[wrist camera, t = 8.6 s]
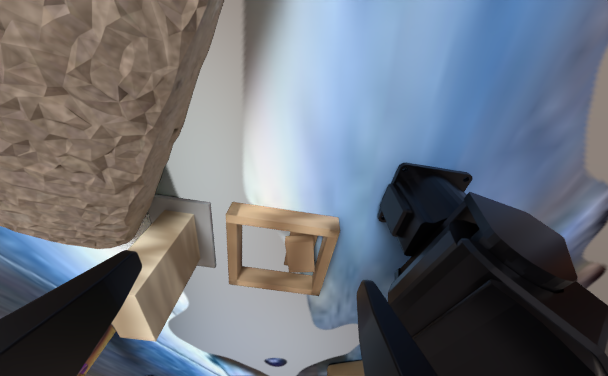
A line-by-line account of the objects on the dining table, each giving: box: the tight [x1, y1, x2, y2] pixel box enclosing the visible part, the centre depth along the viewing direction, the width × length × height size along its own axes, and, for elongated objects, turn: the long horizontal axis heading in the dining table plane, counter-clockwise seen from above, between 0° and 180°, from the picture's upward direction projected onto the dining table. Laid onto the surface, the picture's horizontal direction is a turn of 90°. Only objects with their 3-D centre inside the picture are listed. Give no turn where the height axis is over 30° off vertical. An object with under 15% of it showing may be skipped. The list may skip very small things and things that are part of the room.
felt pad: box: [148, 194, 216, 268], centre depth 25 cm, size 6×10×1 cm, turn 171°
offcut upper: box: [285, 235, 315, 273], centre depth 25 cm, size 3×5×1 cm, turn 3°
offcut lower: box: [284, 232, 318, 265], centre depth 26 cm, size 3×6×1 cm, turn 170°
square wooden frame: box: [226, 202, 340, 296], centre depth 25 cm, size 11×11×2 cm
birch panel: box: [112, 210, 200, 341], centre depth 21 cm, size 3×7×9 cm, turn 172°
